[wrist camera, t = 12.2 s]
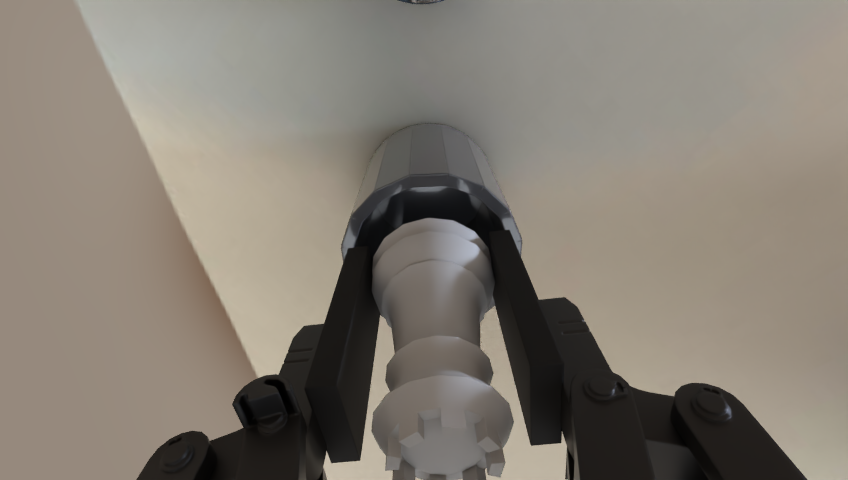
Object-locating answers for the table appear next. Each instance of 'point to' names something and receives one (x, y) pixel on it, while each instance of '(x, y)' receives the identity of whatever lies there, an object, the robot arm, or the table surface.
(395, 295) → the rook chess piece
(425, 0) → the soda can
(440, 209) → the cup
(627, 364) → the table surface
